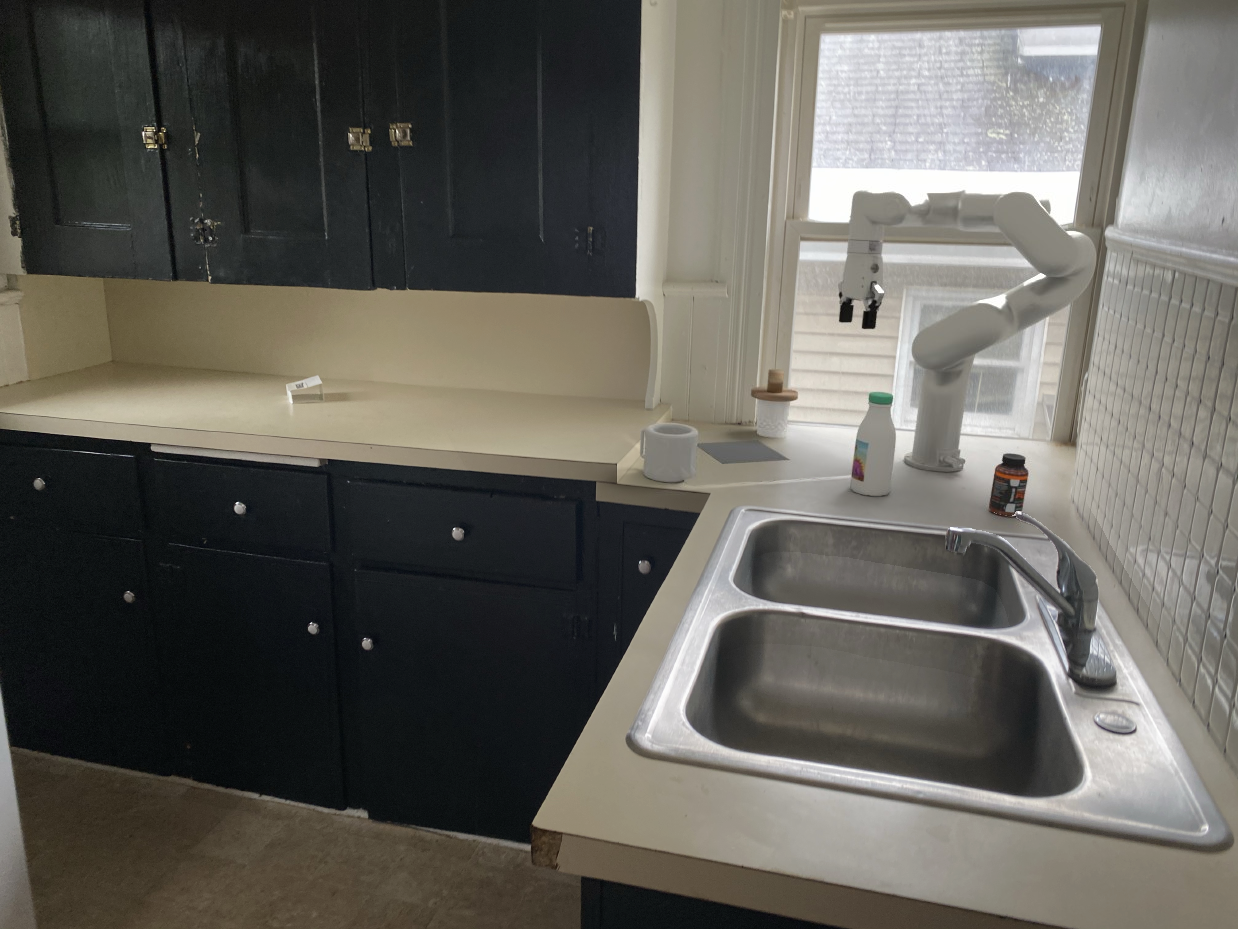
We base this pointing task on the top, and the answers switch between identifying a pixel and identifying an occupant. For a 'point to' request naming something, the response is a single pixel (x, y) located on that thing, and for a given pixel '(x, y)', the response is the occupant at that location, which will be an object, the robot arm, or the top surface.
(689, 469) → the mug
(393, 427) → the top surface
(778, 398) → the wooden lid
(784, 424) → the white cup
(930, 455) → the robot arm
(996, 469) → the supplement bottle
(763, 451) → the mat
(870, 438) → the milk bottle
